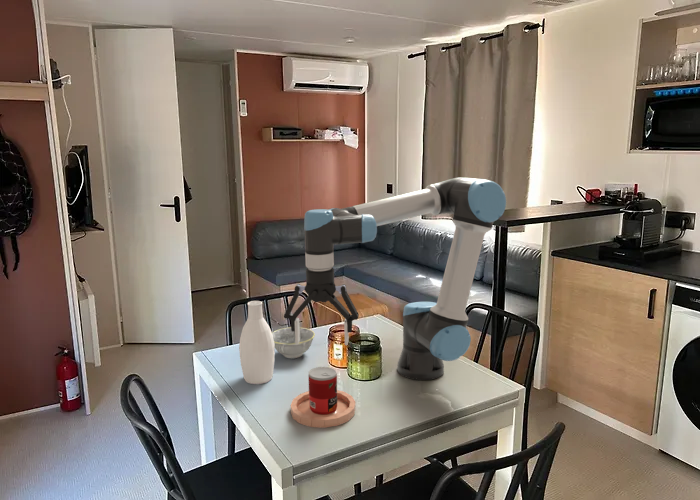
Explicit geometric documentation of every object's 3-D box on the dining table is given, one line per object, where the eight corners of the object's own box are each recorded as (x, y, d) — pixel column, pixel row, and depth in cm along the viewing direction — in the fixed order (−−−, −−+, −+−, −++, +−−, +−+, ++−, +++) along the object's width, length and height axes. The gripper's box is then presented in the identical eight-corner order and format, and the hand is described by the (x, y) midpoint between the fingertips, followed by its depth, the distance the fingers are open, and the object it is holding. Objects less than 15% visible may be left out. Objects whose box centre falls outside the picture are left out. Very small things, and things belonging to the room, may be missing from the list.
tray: (357, 396, 159) (357, 390, 159) (351, 428, 142) (351, 421, 141) (298, 394, 161) (298, 387, 161) (285, 425, 144) (284, 418, 143)
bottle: (267, 368, 180) (264, 295, 175) (281, 380, 171) (278, 304, 166) (235, 376, 174) (231, 301, 169) (248, 389, 165) (244, 310, 160)
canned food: (334, 416, 147) (333, 379, 145) (306, 414, 149) (304, 377, 146) (340, 403, 154) (339, 367, 152) (313, 400, 156) (312, 365, 154)
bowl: (296, 367, 180) (296, 346, 179) (260, 357, 189) (259, 337, 187) (323, 351, 194) (323, 331, 192) (289, 343, 202) (288, 324, 200)
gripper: (367, 264, 145) (368, 338, 150) (277, 264, 148) (280, 336, 152) (365, 271, 138) (366, 349, 142) (270, 270, 141) (274, 346, 145)
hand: (322, 342), depth 147 cm, fingers open, 13 cm apart
